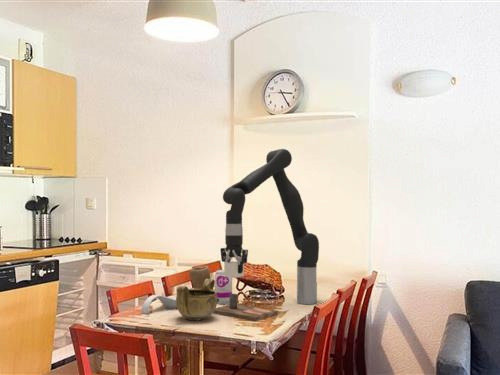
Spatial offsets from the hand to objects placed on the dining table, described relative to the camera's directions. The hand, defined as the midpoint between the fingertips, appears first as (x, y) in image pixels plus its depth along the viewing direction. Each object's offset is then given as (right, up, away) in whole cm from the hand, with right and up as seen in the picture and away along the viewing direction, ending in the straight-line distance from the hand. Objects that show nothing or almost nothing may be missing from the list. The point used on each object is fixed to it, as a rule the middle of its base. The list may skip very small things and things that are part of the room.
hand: (234, 272), depth 229 cm
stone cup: (-16, -18, +35) cm, 42 cm away
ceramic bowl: (-15, -17, -14) cm, 27 cm away
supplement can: (-6, -18, +19) cm, 27 cm away
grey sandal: (-31, -17, +3) cm, 36 cm away
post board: (+4, -17, -4) cm, 18 cm away
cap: (0, -2, 0) cm, 2 cm away
